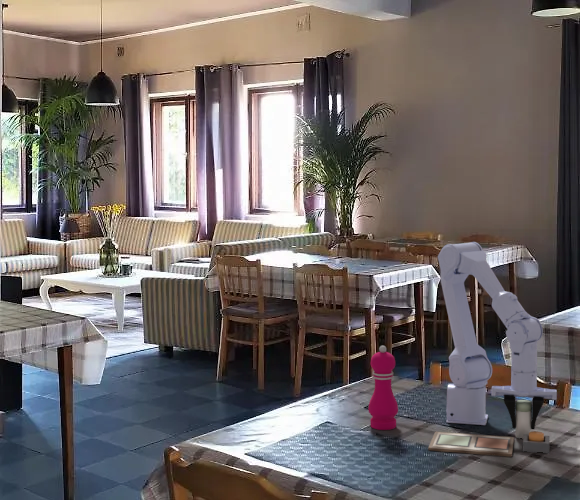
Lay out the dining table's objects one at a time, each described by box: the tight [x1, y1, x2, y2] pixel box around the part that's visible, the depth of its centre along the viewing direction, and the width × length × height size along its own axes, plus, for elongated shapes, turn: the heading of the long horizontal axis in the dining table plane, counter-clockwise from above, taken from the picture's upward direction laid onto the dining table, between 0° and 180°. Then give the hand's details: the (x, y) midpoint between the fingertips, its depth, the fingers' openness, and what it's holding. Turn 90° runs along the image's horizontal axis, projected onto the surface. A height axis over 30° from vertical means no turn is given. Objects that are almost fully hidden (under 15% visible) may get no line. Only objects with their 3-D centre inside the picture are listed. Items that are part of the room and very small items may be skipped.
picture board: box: [427, 430, 515, 458], centre depth 194 cm, size 18×12×1 cm, turn 73°
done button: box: [529, 430, 545, 442], centre depth 190 cm, size 3×3×2 cm
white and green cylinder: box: [514, 399, 533, 440], centre depth 199 cm, size 4×4×8 cm
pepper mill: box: [368, 345, 399, 431], centre depth 208 cm, size 7×7×20 cm
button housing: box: [522, 434, 551, 454], centre depth 191 cm, size 6×6×2 cm
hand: (523, 427), depth 199 cm, fingers closed on white and green cylinder, 4 cm apart
